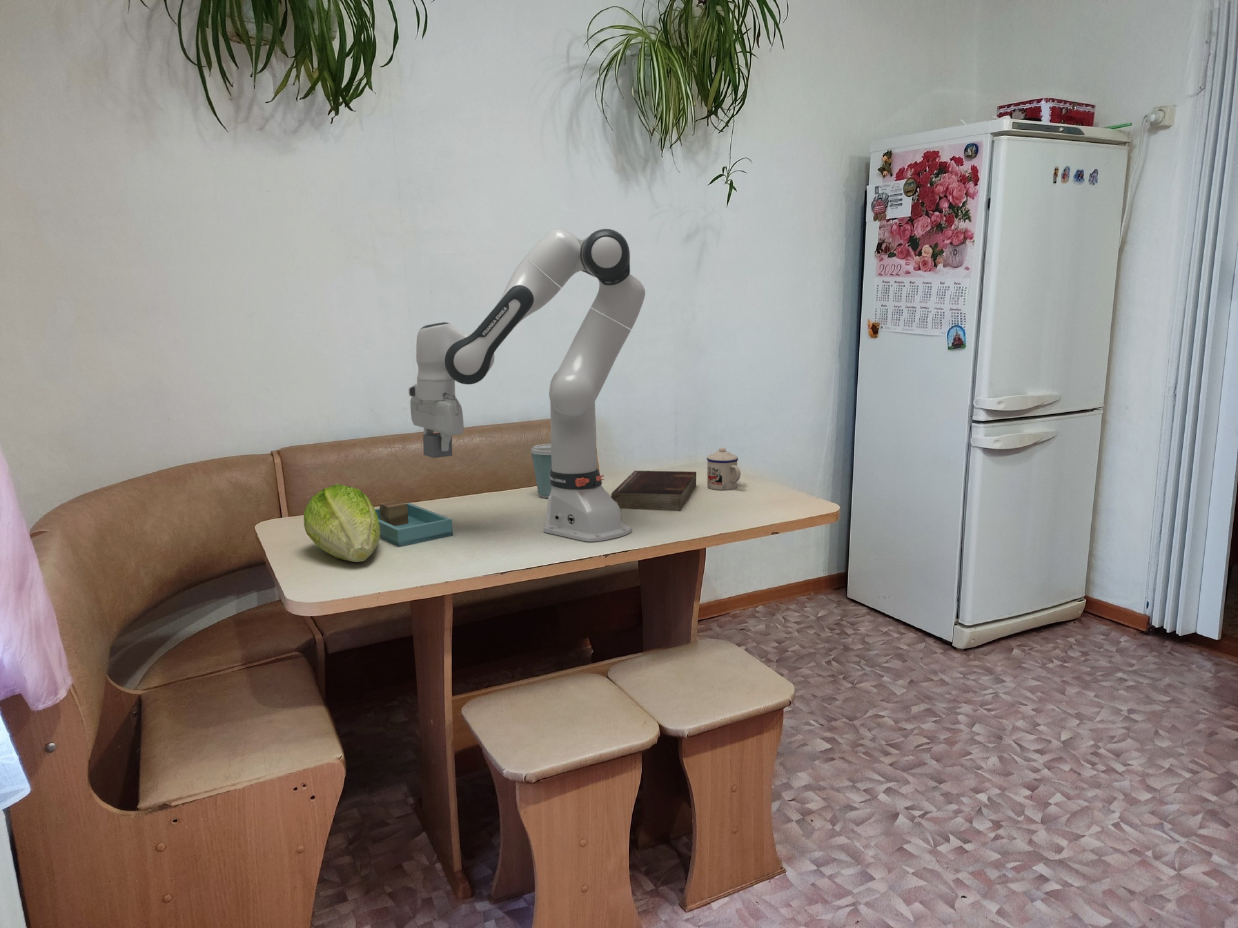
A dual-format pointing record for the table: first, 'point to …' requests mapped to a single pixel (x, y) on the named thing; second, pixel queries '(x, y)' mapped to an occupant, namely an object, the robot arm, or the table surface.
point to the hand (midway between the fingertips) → (437, 448)
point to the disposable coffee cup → (542, 468)
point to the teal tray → (416, 527)
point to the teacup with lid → (722, 470)
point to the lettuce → (342, 523)
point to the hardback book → (655, 490)
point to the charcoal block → (435, 446)
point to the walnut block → (394, 512)
